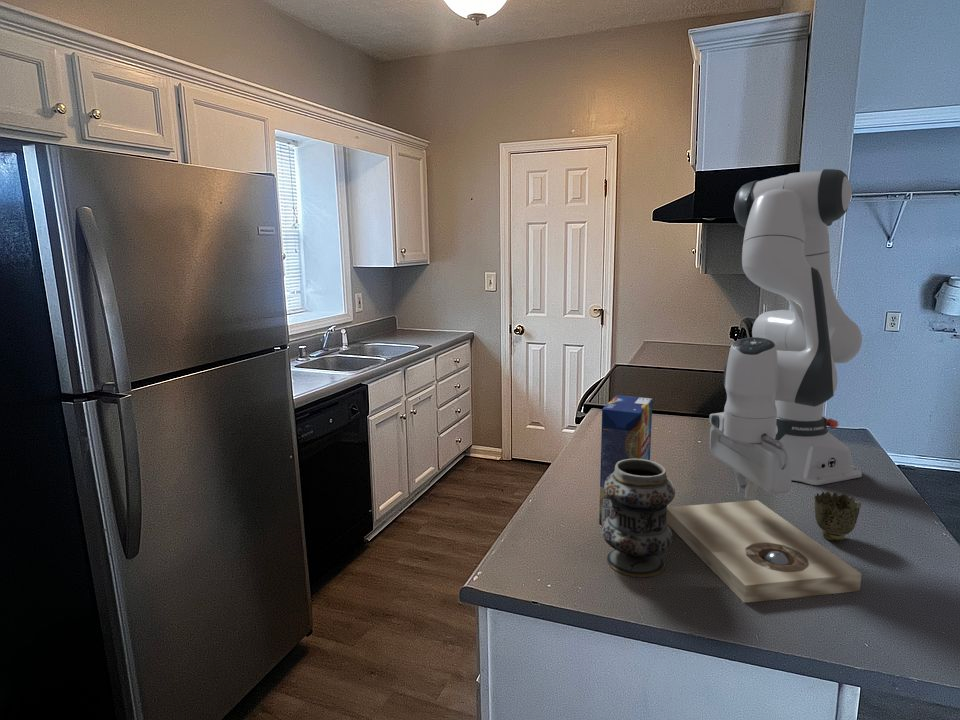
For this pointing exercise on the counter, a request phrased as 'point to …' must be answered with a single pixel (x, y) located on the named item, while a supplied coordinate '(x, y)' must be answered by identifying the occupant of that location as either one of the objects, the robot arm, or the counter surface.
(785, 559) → the steel ball
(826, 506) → the cup
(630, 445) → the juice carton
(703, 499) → the counter surface
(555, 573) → the counter surface
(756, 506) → the hole board
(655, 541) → the apothecary jar
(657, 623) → the counter surface
